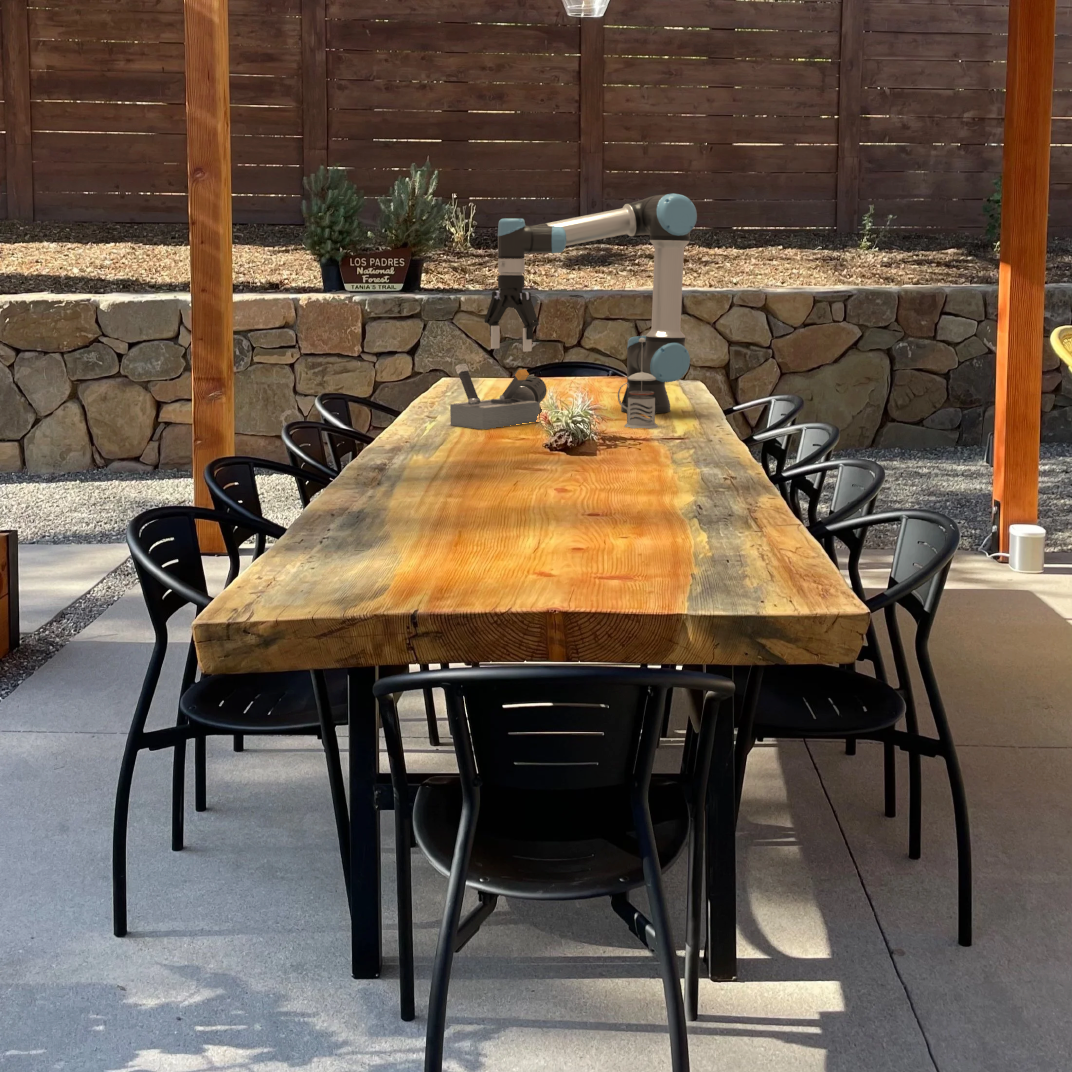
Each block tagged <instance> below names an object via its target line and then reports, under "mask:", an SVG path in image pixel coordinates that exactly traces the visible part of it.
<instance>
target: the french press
mask: <svg viewBox="0 0 1072 1072" xmlns="http://www.w3.org/2000/svg"><path fill="white" fill-rule="evenodd" d="M639 342H645V339H644V338H640V339H639ZM628 380H633V381H641V391H631V392H629V394H631V395H652V394H654V392H652V391H642V381H653V380H656V378H655V377H654V376H653V375H651V374H648V373H644V372H642V365H641V372H640V373H635V374H633V375H631V376H629V377H628ZM625 385H626V388H627V387H628V388H629V383H628V382H627V381H626V382H625V383H623V384H622V385H621V386H620V387H619V389H618V390H617V391H618V392H617V400H618V403H619V406H622V405H623V404H622V400H621V399H620V398H621V396H620V392H621V389H622V388H623V387H624V386H625ZM633 403H634V404H633ZM639 404H640V405H644V406H646V407H648V408H650V409H646V408H644V407H641V406H638V405H639ZM623 406H624V405H623ZM623 406H622V407H623ZM651 406H652V407H651ZM623 408H625V409H627V412H626V423H625V424H624V425H623V427H624V426H625V427H624V428H627V427H630V428H629V429H635V428H646V429H645V430H647V428H648V429H656V428H659V425H658V424H657V423H656V422H655V421H656V413H655V397H650V396H633V397H628V408H627V407H625V406H624V407H623ZM636 409H642V410H645V411H647V412H649V413H651V414H647V413H645V412H643V411H640V410H636ZM633 412H634V413H633Z"/></svg>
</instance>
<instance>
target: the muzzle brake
mask: <svg viewBox="0 0 1072 1072" xmlns="http://www.w3.org/2000/svg"><path fill="white" fill-rule="evenodd" d="M547 390H548V389H547V385H546V383H545V381H544V380H543V378H542V379H541V377H538V376H535V375H530V376H528V377H527V378H526V380H524V381H523V382H522V384H521V385H520V386H519V388H518V389H517V391H516V392H515V393H514V395H513V396H512V397H511V398H513V399H520V400H527V401H536V402H540V403H541V402H542V401H544V399H545V397H546V396H547Z"/></svg>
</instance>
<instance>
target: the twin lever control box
mask: <svg viewBox="0 0 1072 1072" xmlns="http://www.w3.org/2000/svg"><path fill="white" fill-rule="evenodd" d="M454 368H455V371H456V373H457V375H458V377H459V379H460V382H461V384H462V386H463V389H464V392H465V394H466V397H467V401H463V402H455V403H450V404H449V405H450V411H449V412H450V416H449V417H450V426H453V427H460V428H466V427H467V428H469V429H473V428H474V429H475V430H480V429H486V430H491V429H490V428H494V429H497V428H496V427H501V428H504V427H503V426H509V427H511V426H510V425H516V424H522V423H529V422H536V420H537V416H538V414H539V413H541V412H540V411H541V408H540V407H541V402H536V401H527V400H520V399H513V398H511V400H510V401H505V400H500V397H499V398H491V399H483V400H482V399H480V397H478V394H477V391H476V387H475V386H474V383H473V380H472V377H471V375H470V373H469V371H470V370H469V366H468V363H459V364H457V365H456V366H454ZM474 429H473V430H474Z"/></svg>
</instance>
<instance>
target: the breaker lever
mask: <svg viewBox="0 0 1072 1072" xmlns="http://www.w3.org/2000/svg"><path fill="white" fill-rule="evenodd" d="M514 375H515V376H514V378H512V380H511V381H510V383H509V385H508V386H507V387H506V389H505V390H504V392H502V394H500V396H499V398H500V400H505V401H510V400H511V397H512V396H513V395H514V393H515V392H516V391H517V389H518V388H519V386H520V385H521V384H522V382H523V381H524V380H526V378H527V377H529V375H530V373H529V372H528V371H527V369H518V370H517V371H516V373H515V374H514Z"/></svg>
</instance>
